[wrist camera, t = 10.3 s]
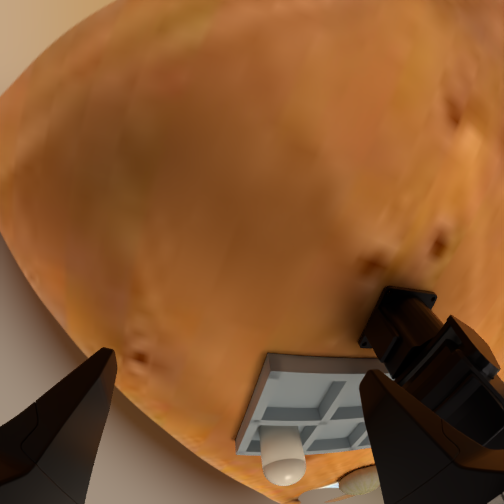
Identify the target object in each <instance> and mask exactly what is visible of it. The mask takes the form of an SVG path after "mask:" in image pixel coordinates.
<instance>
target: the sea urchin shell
mask: <svg viewBox="0 0 504 504" xmlns="http://www.w3.org/2000/svg"><path fill="white" fill-rule="evenodd" d="M379 485H380V482H379V478H378V473H377V469H376V465H375V466H369V467H366V468H362V469H357V470H355V471H353V472H351V473H350V474H348V475H347V476H345V477H344V478H342V479H341V480H340V482H339V489H340V490H341V491H342V492H343V493H345V494H349V495H361V494H365V493H368V492H371V491H373V490H375V489H376V488H377V487H378V486H379Z"/></svg>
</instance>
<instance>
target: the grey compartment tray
mask: <svg viewBox="0 0 504 504" xmlns="http://www.w3.org/2000/svg"><path fill="white" fill-rule="evenodd" d="M370 369H379V370H380V371H382V372H383V373H384V374H385V375H387V376H388V377H389V378H390V379H392V378H391V376H390V374H389V372H388V370H387V369H386V367H385V365H384V363H381V362H380V361H379V359H378V358H332V357H313V356H297V355H284V354H273V353H268V354H267V357H266V359H265V362H264V365H263V368H262V371H261V374H260V376H259V379H258V382H257V385H256V387H255V390H254V393H253V395H252V398H251V401H250V403H249V406H248V409H247V411H246V414H245V417H244V419H243V422H242V424H241V427H240V430H239V432H238V435H237V437H236V440H235V446H236V455H261V449H260V439H259V427H260V426H261V425H269V426H298V428H299V433H300V437H301V442H302V447H303V452H304V455H308V454H322V453H333V452H342V451H350V450H358V449H365V448H371V445H370V441H369V437H368V434H367V430H366V426H365V422H364V417H363V410H362V404H361V398H360V392H359V385H360V382H361V381H362V379H363V377H364V376H365V374H366V372H367V371H368V370H370ZM392 380H393V381H394V380H395V379H392Z"/></svg>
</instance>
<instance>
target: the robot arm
mask: <svg viewBox="0 0 504 504" xmlns="http://www.w3.org/2000/svg"><path fill="white" fill-rule="evenodd" d="M389 291H390V292H389ZM388 292H389V293H388ZM436 299H437V295H436V294H435V293H433V292H427V291H420V290H414V289H407V288H400V287H394V286H387V287H385V288H384V290H383V292H382V294H381V296H380V298H379V300H378V303H377V305H376V307H375V309H374V311H373V313H372V315H371V317H370V319H369V321H368V323H367V325H366V327H365V329H364V332H363V334H362V335H361V337H360V339H359V341H358V344H359V346H360V347H361V348H373V350H374V352H375V353H376V355H377V357H378V359H379V361H380V362H381V363H384V365H385V367H386V369H387V370H388V372H389V374H390V376H391V378H392V379H395V380H394V381H393V380H392V379H390V378H389V377H388V376H387V375H385V374H384V373H383V372H382V371H380V370H379V369H370V370H368V371H367V372H366V374H365V376H364V377H363V379H362V381H361V382H360V385H359V392H360V398H361V404H362V410H363V417H364V422H365V426H366V430H367V434H368V437H369V441H370V445H371V449H372V453H373V457H374V461H375V465H376V469H377V473H378V478H379V482H380V486H381V490H382V495H383V500H384V504H504V383H503V381H502V380H501V379H500V378H499V376H498V375H497V373H498V372H499V371H500V366H499V364H498V362H497V360H496V359H495V357H494V355H493V353H492V351H491V349H490V347H489V346H488V344H487V343H486V342H485V341H484V340H483V339H482V338H481V337H480V336H479V335H478V334H477V333H476V332H475V331H474V330H473V329H472V328H470V327H469V326H467V325H466V324H464V323H463V322H461V321H460V320H459V319H457V318H456V317H454V316H453V315H450V316H449V317H448V318H447V321H446V323H445V324H443V323H442V322H441V321H440V320H439V319H438V317H437V316H436V315H435V314H434V313H433V312H432V311H431V309H432V307H433V305H434V303H435V301H436ZM116 374H117V362H116V356H115V351H114V350H113V349H109V348H105V347H103V348H101V349H100V350H98V351H97V352H96V353H95V354H93V355H92V356H91V357H90V358H88V359H87V360H86V361H84V362H83V363H82V364H81V365H79V366H78V367H77V368H76V369H74V370H73V371H72V372H71V373H69V374H68V375H67V376H66V377H65V378H63V379H62V380H61V381H60V382H58V383H57V384H56V385H55V386H53V387H52V388H51V389H50V390H48V391H47V392H46V393H45V394H43V395H42V396H41V397H40V398H39V399H37V400H36V403H35V402H34V403H33V404H31V405H30V406H29V407H28V408H26V409H25V410H24V411H22V412H21V413H20V414H19V415H17V416H16V417H14V418H13V419H11V420H10V421H8V422H7V423H5V424H4V425H2V426H0V504H84V503H85V499H86V494H87V489H88V485H89V481H90V477H91V473H92V469H93V465H94V461H95V458H96V454H97V450H98V447H99V443H100V440H101V436H102V433H103V429H104V426H105V423H106V419H107V416H108V413H109V409H110V404H111V399H112V394H113V389H114V384H115V379H116Z"/></svg>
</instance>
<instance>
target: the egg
mask: <svg viewBox="0 0 504 504" xmlns="http://www.w3.org/2000/svg"><path fill="white" fill-rule="evenodd" d="M259 439H260V449H261V458H262V467H263V473H264V475H265V477H266V478H267V479H268V480H269V481H270V482H271V483H273V484H275V485H279V486H288V485H292V484H294V483H296V482H298V481H299V480H300V479H301V478H302V477H303V475H304V474H305V471H306V461H305V456H304V452H303V447H302V442H301V437H300V433H299V428H298V426H269V425H261V426H260V427H259Z"/></svg>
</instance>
